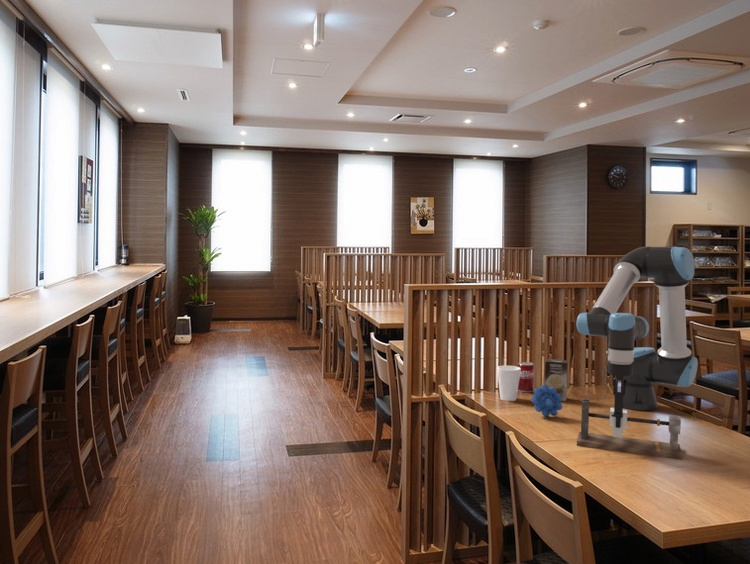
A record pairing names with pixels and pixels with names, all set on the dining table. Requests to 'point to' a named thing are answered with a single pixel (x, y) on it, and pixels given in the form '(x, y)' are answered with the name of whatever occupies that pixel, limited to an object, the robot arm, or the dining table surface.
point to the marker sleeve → (623, 418)
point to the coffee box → (556, 376)
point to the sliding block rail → (629, 443)
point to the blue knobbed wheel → (547, 400)
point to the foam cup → (508, 382)
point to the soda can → (526, 377)
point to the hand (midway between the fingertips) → (617, 434)
